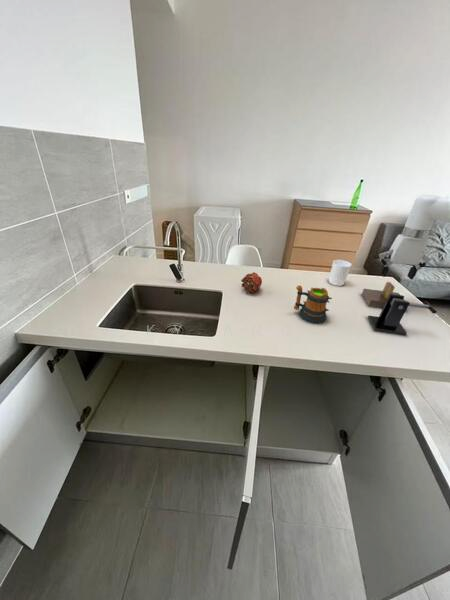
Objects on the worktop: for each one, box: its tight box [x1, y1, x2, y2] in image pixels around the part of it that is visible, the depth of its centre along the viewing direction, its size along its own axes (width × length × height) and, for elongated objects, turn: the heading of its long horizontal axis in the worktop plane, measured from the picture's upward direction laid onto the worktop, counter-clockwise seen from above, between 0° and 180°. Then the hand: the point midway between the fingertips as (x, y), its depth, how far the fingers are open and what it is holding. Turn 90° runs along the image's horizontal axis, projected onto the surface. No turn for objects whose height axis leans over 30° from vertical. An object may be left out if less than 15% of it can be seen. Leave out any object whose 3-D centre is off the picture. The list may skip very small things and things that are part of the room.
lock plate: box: [361, 288, 406, 309], centre depth 101 cm, size 14×10×3 cm
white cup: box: [328, 259, 353, 287], centre depth 113 cm, size 8×8×10 cm
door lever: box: [390, 298, 438, 315], centre depth 81 cm, size 12×6×2 cm, turn 79°
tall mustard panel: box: [381, 281, 396, 299], centre depth 98 cm, size 5×1×6 cm, turn 169°
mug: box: [293, 285, 333, 325], centre depth 88 cm, size 13×10×12 cm
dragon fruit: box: [240, 272, 263, 293], centre depth 104 cm, size 8×8×12 cm
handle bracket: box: [367, 294, 411, 336], centre depth 84 cm, size 10×8×12 cm
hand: (396, 276), depth 95 cm, fingers open, 9 cm apart
